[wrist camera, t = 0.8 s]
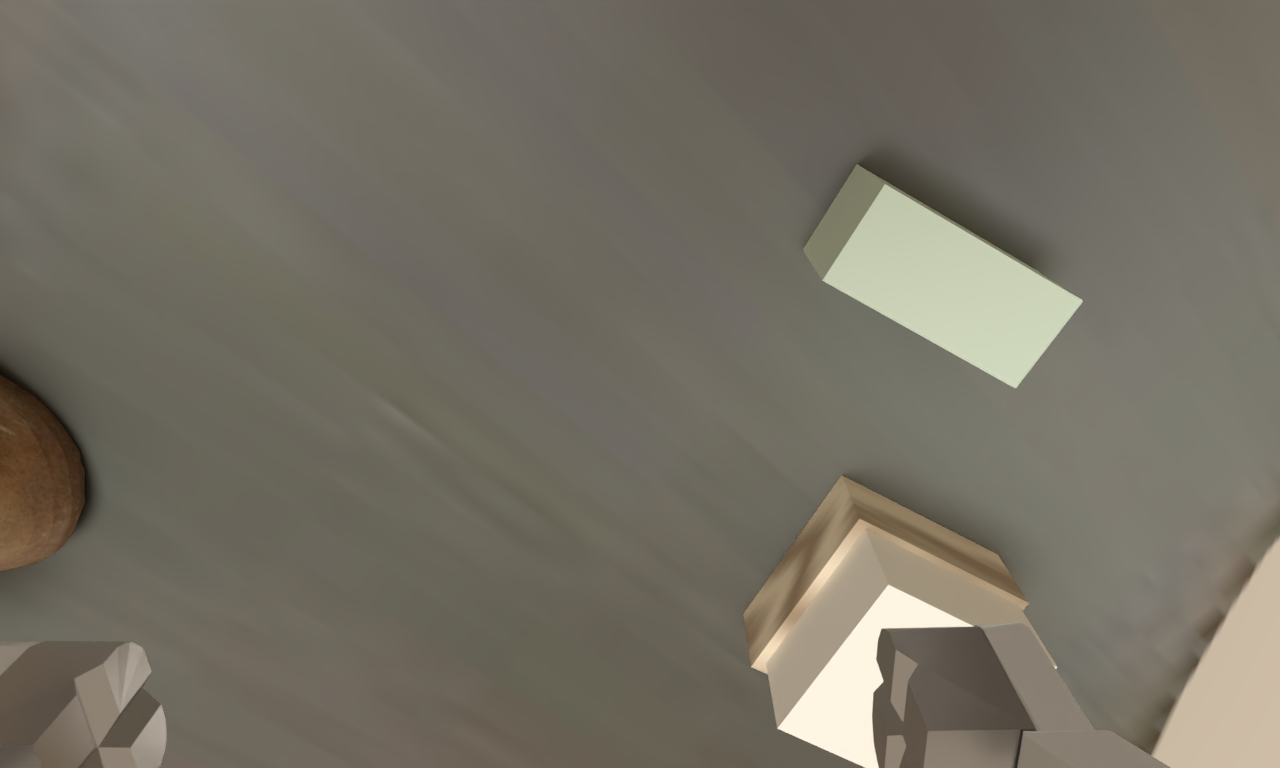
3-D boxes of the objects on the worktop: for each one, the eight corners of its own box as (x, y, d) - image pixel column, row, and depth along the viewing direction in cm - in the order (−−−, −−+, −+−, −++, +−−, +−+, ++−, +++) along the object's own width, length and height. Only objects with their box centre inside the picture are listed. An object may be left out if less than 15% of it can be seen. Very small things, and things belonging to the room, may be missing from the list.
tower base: (841, 473, 51) (859, 518, 47) (996, 552, 53) (1028, 603, 49) (742, 612, 55) (751, 666, 50) (891, 681, 57) (912, 740, 52)
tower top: (865, 529, 47) (888, 584, 42) (1018, 605, 49) (1057, 667, 44) (766, 663, 50) (777, 728, 46) (912, 730, 52) (938, 799, 47)
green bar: (856, 163, 45) (884, 183, 39) (1031, 267, 47) (1083, 300, 41) (802, 249, 46) (822, 280, 41) (973, 346, 48) (1015, 388, 43)
